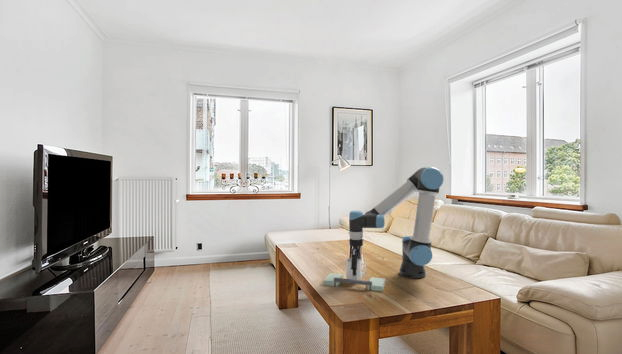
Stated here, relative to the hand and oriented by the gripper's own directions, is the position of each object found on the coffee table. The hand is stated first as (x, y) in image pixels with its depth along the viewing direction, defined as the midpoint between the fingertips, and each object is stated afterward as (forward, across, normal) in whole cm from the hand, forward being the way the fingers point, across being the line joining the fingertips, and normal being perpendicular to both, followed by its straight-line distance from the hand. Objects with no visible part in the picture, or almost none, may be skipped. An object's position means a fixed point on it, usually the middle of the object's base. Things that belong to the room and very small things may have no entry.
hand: (356, 278), depth 183 cm
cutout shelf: (+2, +4, 0) cm, 4 cm away
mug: (+1, -1, 0) cm, 1 cm away
